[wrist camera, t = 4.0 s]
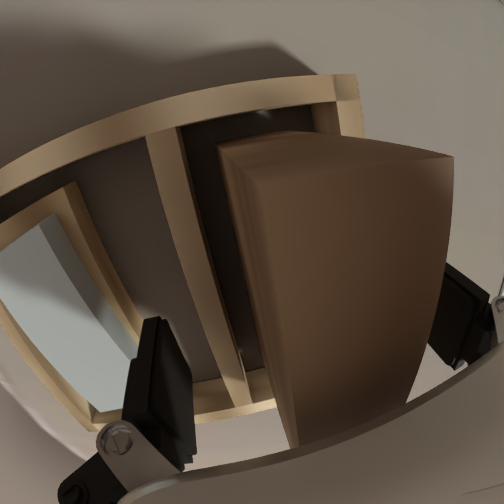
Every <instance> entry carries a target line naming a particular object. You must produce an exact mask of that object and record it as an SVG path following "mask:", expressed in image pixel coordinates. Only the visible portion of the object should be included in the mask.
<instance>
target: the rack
mask: <svg viewBox="0 0 504 504" xmlns="http://www.w3.org/2000/svg"><path fill="white" fill-rule="evenodd" d="M301 105H310V106H311V112H312V119H313V125H314V132H315V133H324V134H333V135H342V136H350V137H357V138H364V139H365V134H364V126H363V118H362V110H361V103H360V96H359V90H358V84H357V78H356V74H333V75H307V76H292V77H281V78H271V79H263V80H255V81H248V82H241V83H235V84H229V85H223V86H218V87H213V88H208V89H203V90H198V91H194V92H189V93H185V94H181V95H177V96H173V97H169V98H165V99H162V100H158V101H155V102H151V103H148V104H145V105H141V106H138V107H135V108H132V109H129V110H126V111H123V112H120V113H117V114H114V115H112V116H109V117H106V118H103V119H101V120H98V121H96V122H93V123H91V124H88V125H86V126H83V127H81V128H78V129H76V130H74V131H72V132H69V133H67V134H65V135H63V136H60V137H58V138H56V139H54V140H52V141H50V142H48V143H46V144H44V145H42V146H40V147H38V148H36V149H34V150H32V151H30V152H29V153H27V154H25V155H23V156H21V157H19V158H18V159H16V160H14V161H12V162H11V163H9V164H7V165H6V166H4V167H2V168H1V169H0V198H1V197H3V196H4V195H6V194H8V193H10V192H12V191H14V190H15V189H17V188H19V187H21V186H23V185H25V184H27V183H29V182H31V181H33V180H35V179H37V178H39V177H41V176H44V175H46V174H48V173H50V172H52V171H55V170H57V169H59V168H61V167H64V166H66V165H68V164H71V163H73V162H76V161H78V160H80V159H83V158H86V157H88V156H91V155H93V154H96V153H99V152H101V151H104V150H107V149H110V148H112V147H115V146H118V145H121V144H124V143H127V142H130V141H133V140H137V139H140V138H143V137H146V142H147V146H148V150H149V154H150V158H151V162H152V166H153V170H154V174H155V178H156V182H157V186H158V189H159V193H160V197H161V200H162V204H163V207H164V211H165V214H166V218H167V221H168V225H169V228H170V231H171V235H172V238H173V241H174V244H175V248H176V251H177V254H178V257H179V260H180V263H181V266H182V269H183V272H184V275H185V278H186V281H187V284H188V287H189V290H190V293H191V296H192V299H193V302H194V304H195V307H196V310H197V313H198V316H199V318H200V321H201V324H202V326H203V329H204V332H205V334H206V337H207V340H208V342H209V345H210V347H211V350H212V353H213V355H214V358H215V360H216V363H217V365H218V368H219V370H220V373H221V375H222V378H218V379H213V380H208V381H203V382H197V383H192V386H193V405H194V421H195V424H198V423H205V422H211V421H216V420H222V419H227V418H232V417H237V416H241V415H246V414H250V413H255V412H259V411H263V410H267V409H271V408H275V407H277V404H276V401H275V398H274V395H273V392H272V388H271V385H270V382H269V379H268V375H267V372H266V369H265V368H261V369H257V370H253V371H249V372H245V369H244V366H243V363H242V359H241V356H240V353H239V350H238V346H237V343H236V340H235V337H234V333H233V330H232V327H231V323H230V320H229V316H228V313H227V310H226V306H225V303H224V299H223V296H222V292H221V289H220V285H219V282H218V278H217V274H216V271H215V267H214V263H213V260H212V256H211V252H210V249H209V245H208V241H207V237H206V233H205V230H204V226H203V222H202V218H201V214H200V210H199V206H198V202H197V198H196V194H195V190H194V186H193V181H192V177H191V173H190V169H189V165H188V160H187V156H186V152H185V147H184V143H183V138H182V134H181V129H180V127H182V126H187V125H191V124H195V123H199V122H203V121H208V120H213V119H217V118H222V117H227V116H233V115H238V114H244V113H249V112H256V111H262V110H269V109H276V108H284V107H292V106H301ZM0 324H1V326H2V327H3V329H4V330H5V332H6V333H7V335H8V337H9V338H10V340H11V341H12V343H13V344H14V346H15V347H16V348H17V350H18V351H19V353H20V354H21V355H22V357H23V358H24V360H25V361H26V362H27V364H28V365H29V366H30V368H31V369H32V370H33V371H34V373H35V374H36V375H37V377H38V378H39V379H40V380H41V381H42V383H43V384H44V385H45V386H46V387H47V389H48V390H49V391H50V392H51V393H52V394H53V396H54V397H55V398H56V399H57V400H58V401H59V402H60V403H61V404H62V405H63V407H64V408H65V409H66V410H67V411H68V412H69V413H70V414H71V415H72V416H73V417H74V418H75V419H76V420H77V421H78V422H79V423H80V424H81V425H82V426H83V427H84V428H85V429H86V430H87V431H90V432H100V430H101V429H102V428H103V427H104V426H105V425H106V424H108V423H110V422H113V421H116V420H121V416H122V409H123V408H121V409H116V410H111V411H106V412H99V411H98V410H97V409H96V408H95V407H94V406H93V405H92V404H90V403H89V402H88V401H87V400H86V399H85V398H84V397H83V396H82V395H81V394H80V393H79V392H78V391H77V390H76V389H75V388H74V387H72V386H71V385H70V384H69V383H68V381H67V380H66V379H65V378H64V377H63V376H62V375H61V374H60V373H59V372H58V371H57V370H56V369H55V368H54V367H53V366H52V365H51V363H50V362H49V361H48V360H47V359H46V358H45V357H44V356H43V354H42V353H41V352H40V351H39V350H38V348H37V347H36V346H35V345H34V344H33V342H32V341H31V340H30V339H29V337H28V336H27V335H26V334H25V332H24V331H23V330H22V328H21V327H20V326H19V324H18V323H17V322H16V320H15V319H14V318H13V316H12V315H11V313H10V312H9V310H8V309H7V308H6V306H5V305H4V303H3V302H2V300H1V299H0Z"/></svg>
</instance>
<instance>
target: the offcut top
mask: <svg viewBox="0 0 504 504" xmlns="http://www.w3.org/2000/svg"><path fill="white" fill-rule="evenodd" d="M0 299H1V300H2V302H3V303H4V305H5V306H6V308H7V309H8V310H9V312H10V313H11V315H12V316H13V318H14V319H15V320H16V322H17V323H18V324H19V326H20V327H21V328H22V330H23V331H24V332H25V334H26V335H27V336H28V337H29V339H30V340H31V341H32V342H33V344H34V345H35V346H36V347H37V348H38V350H39V351H40V352H41V353H42V354H43V356H44V357H45V358H46V359H47V360H48V361H49V362H50V363H51V365H52V366H53V367H54V368H55V369H56V370H57V371H58V372H59V373H60V374H61V375H62V376H63V377H64V378H65V379H66V380H67V381H68V383H69V384H70V385H71V386H72V387H74V388H75V389H76V390H77V391H78V392H79V393H80V394H81V395H82V396H83V397H84V398H85V399H86V400H87V401H88V402H89V403H90V404H92V405H93V406H94V407H95V408H96V409H97V410H98V411H99V412H106V411H111V410H116V409H121V408H123V402H124V395H125V389H126V383H127V377H128V371H129V366H130V362H131V360H132V359H133V358H136V357H137V351H138V346H139V345H138V344H137V343H136V341H135V340H134V339H133V338H132V336H131V335H130V334H129V332H128V331H127V330H126V328H125V327H124V325H123V324H122V323H121V321H120V320H119V319H118V317H117V316H116V314H115V313H114V311H113V310H112V309H111V307H110V306H109V304H108V303H107V301H106V300H105V298H104V297H103V295H102V294H101V292H100V291H99V289H98V288H97V286H96V284H95V283H94V281H93V280H92V278H91V277H90V275H89V273H88V272H87V270H86V268H85V267H84V265H83V263H82V262H81V260H80V258H79V256H78V255H77V253H76V251H75V250H74V248H73V246H72V244H71V242H70V241H69V239H68V237H67V235H66V233H65V231H64V229H63V227H62V225H61V224H60V222H59V220H58V218H57V216H56V214H55V213H53V214H52V215H50V216H49V217H47V218H45V219H44V220H42V221H41V222H39V223H38V224H36V225H35V226H34V227H32V228H31V229H29V230H28V231H26V232H25V233H24V234H22V235H21V236H19V237H18V238H17V239H15V240H14V241H12V242H11V243H10V244H8V245H7V246H6V247H5V248H3V249H2V250H1V251H0Z"/></svg>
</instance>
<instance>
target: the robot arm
mask: <svg viewBox="0 0 504 504" xmlns="http://www.w3.org/2000/svg"><path fill="white" fill-rule="evenodd" d="M500 1H502V2H503V3H504V0H500ZM489 297H490V295H489V294H488V293H487V292H486V291H484V290H483V289H482V288H481V287H479V286H478V285H477V284H475V283H474V282H473V281H471V280H470V279H469V278H467V277H466V276H465V275H463V274H462V273H461V272H459V271H458V270H457V269H455V268H454V267H452V266H451V265H450V264H448V263H447V262H446V264H445V270H444V276H443V281H442V286H441V291H440V295H439V300H438V304H437V309H436V313H435V317H434V320H433V324H432V328H431V332H430V335H429V339H428V342H427V343H428V344H429V345H430V346H431V347H432V349H433V350H434V351H435V352H436V353H437V354H438V355H439V357H440V358H441V359H442V360H443V361H444V362H445V364H447V365H448V366H451V367H452V368H453V370H454V371H455V370H456V369H458V368H459V367H461V366H462V365H463V364H464V362H465V361H466V362H467V363H468V367H466V368H465V369H463V370H462V371H460V372H459V373H457V374H456V375H454V376H453V377H451V378H450V379H448V380H446V381H445V382H443V383H441V384H440V385H438V386H436V387H435V388H433V389H431V390H430V391H428V392H426V393H424V394H423V395H421V396H419V397H417V398H415V399H413V400H412V401H410V402H408V403H406V404H404V405H402V406H400V407H398V408H396V409H394V410H392V411H390V412H388V413H386V414H383V415H381V416H379V417H377V418H375V419H372V420H370V421H368V422H365V423H363V424H361V425H358V426H356V427H353V428H351V429H348V430H346V431H343V432H341V433H338V434H335V435H332V436H330V437H327V438H324V439H321V440H318V441H315V442H312V443H309V444H306V445H302V446H299V447H296V448H292V449H289V450H285V451H281V452H278V453H274V454H270V455H266V456H262V457H258V458H253V459H249V460H244V461H240V462H235V463H229V464H224V465H218V466H213V467H208V468H203V469H197V470H191V471H187V472H182V471H183V470H184V469H185V467H184V464H187V463H193V458H192V455H196V454H197V447H196V435H195V421H194V405H193V386H192V374H191V371H190V368H189V366H188V364H187V362H186V360H185V358H184V356H183V354H182V352H181V350H180V348H179V345H178V343H177V341H176V339H175V337H174V335H173V332H172V330H171V328H170V326H169V323H168V321H167V320H166V319H163V320H162V319H161V317H160V316H157V317H152V318H148V319H144V321H143V325H142V330H141V335H140V340H139V346H138V351H137V357H136V358H133V359H132V360H131V362H130V366H129V371H128V377H127V383H126V389H125V395H124V402H123V409H122V416H121V420H116V421H113V422H110V423H108V424H106V425H105V426H104V427H103V428H102V429H101V430H100V432H99V433H98V435H97V439H96V448H97V450H98V452H97V453H96V454H95V455H94V456H92V457H91V458H90V459H89V460H88V461H87V462H85V463H84V464H83V465H82V466H81V467H80V468H78V469H77V470H76V471H75V472H74V473H72V474H71V475H70V476H69V477H67V478H66V479H65V480H64V481H63V482H62V483H61V484H60V486H59V489H58V501H59V503H60V504H504V296H497V297H495V298H494V299H493V300H492V302H491V304H490V303H488V301H489Z"/></svg>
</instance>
